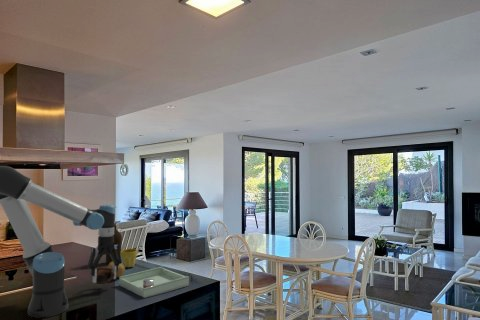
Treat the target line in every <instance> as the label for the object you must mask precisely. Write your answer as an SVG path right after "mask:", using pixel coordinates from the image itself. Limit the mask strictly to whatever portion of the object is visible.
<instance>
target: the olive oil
mask: <svg viewBox="0 0 480 320" xmlns="http://www.w3.org/2000/svg"><path fill="white" fill-rule="evenodd" d="M113 236H114V245H119V246H120V248H119V251H120V256H121V251H122V242H123V237H122V236H123V235H122V234H121V232H119V230H118V229H117V223H114V235H113ZM112 251H113V254H114V256H115V258H116V260H117V257H116V252H115V249H114V248H113V250H112ZM110 262H112V259H111V257H110V255H109V254H105V263H108V264H109V263H110Z"/></svg>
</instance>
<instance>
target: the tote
mask: <svg viewBox="0 0 480 320" xmlns="http://www.w3.org/2000/svg"><path fill="white" fill-rule="evenodd" d="M118 278H119V281H118V283H119V284H118V285H119V286H120V287H121V288H123V289H126V290H128V291H130V292H131V293H134V294H136V295H137V296H139V297H142V298H144V299H146V298H149V297H154V296H157V295H160V294H164V293H168V292H172V291H174V290H179V289H182V288H184V287H188V286H190V276H188V275H183V274H181V273H178V272H174V271H172V270H169V269H167V268H165V267H164V266H159V267H154V268H150V269H147V270H142V271H138V272H134V273H130V274H125V275H122V276H120V277H118ZM145 279H154V286H150V287H146V288H143V280H145Z"/></svg>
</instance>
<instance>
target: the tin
mask: <svg viewBox="0 0 480 320" xmlns="http://www.w3.org/2000/svg"><path fill="white" fill-rule="evenodd" d="M150 286H154V279H145V280H143V288H146V287H150Z"/></svg>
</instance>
